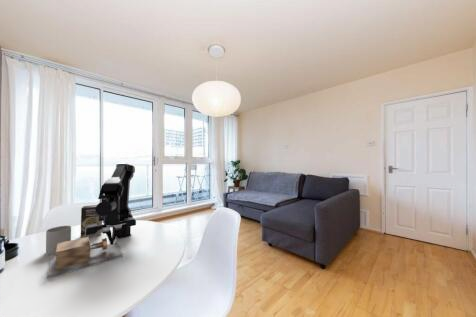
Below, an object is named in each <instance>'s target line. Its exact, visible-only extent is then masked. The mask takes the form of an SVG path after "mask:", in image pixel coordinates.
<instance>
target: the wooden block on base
mask: <svg viewBox="0 0 476 317" xmlns="http://www.w3.org/2000/svg"><path fill="white" fill-rule="evenodd" d="M90 244H91V241H90V237H85V238H81V237H80V238H77V239H71V241H66V242H61V243H57V249H56V254H55V256H54V257H50V262H49V267H48V270H47V276H46V278H47V279H50V278H54V277H57V276H60V275H64V274H67V273H70V272H71V273H72V272H75V271H78V270H81V269H85V268H89V267H91V266H95V265H99V264H102V263H105V262H106V263H107V262H109V261H112V260H116V259H119V258H123V256H124V254H123V252H122V250H121V248H120V247H119V245H118V243H117V242H114V243H113V244H112V245H111V244H110V243H107V249H105V250H102V247H101V248H97V249H93V250H90Z"/></svg>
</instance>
